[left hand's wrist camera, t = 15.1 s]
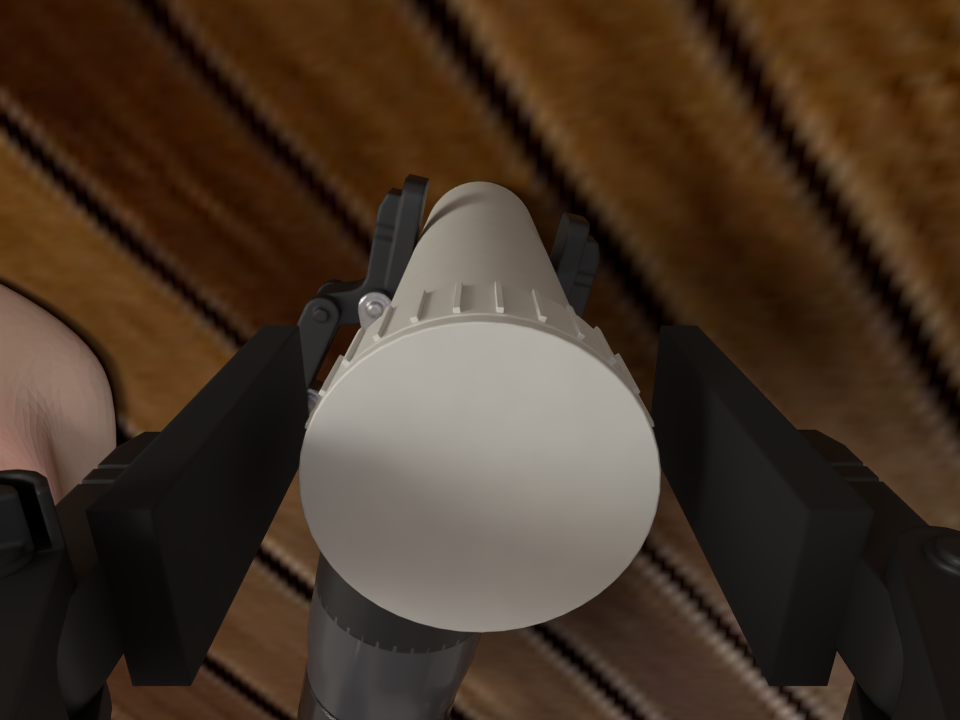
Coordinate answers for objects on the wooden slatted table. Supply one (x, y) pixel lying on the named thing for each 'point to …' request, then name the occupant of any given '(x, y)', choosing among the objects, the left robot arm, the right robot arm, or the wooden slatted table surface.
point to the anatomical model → (50, 397)
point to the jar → (479, 246)
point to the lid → (479, 461)
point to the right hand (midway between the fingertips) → (496, 200)
